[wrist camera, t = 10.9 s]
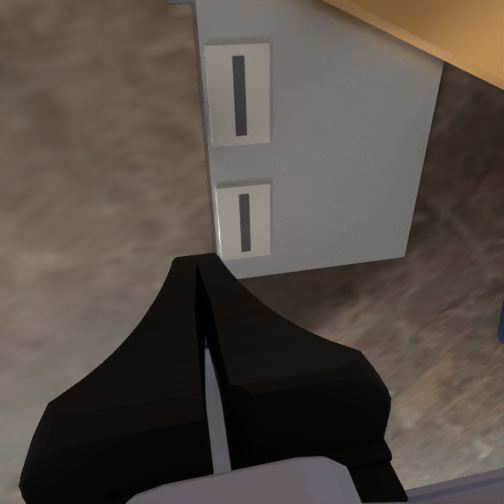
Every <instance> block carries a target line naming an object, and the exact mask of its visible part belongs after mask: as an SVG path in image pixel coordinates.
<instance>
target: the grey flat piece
mask: <svg viewBox="0 0 504 504" xmlns="http://www.w3.org/2000/svg"><path fill="white" fill-rule="evenodd" d="M182 3H192V0H168V4H182Z"/></svg>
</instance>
